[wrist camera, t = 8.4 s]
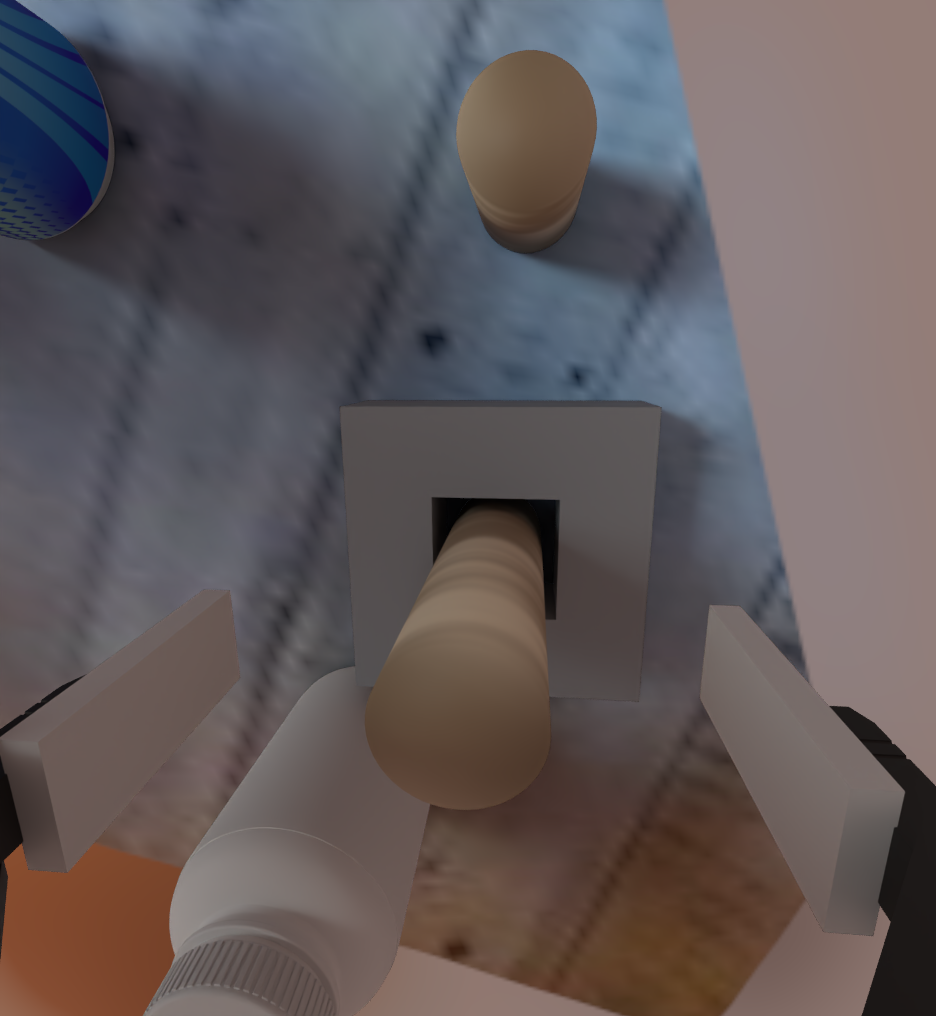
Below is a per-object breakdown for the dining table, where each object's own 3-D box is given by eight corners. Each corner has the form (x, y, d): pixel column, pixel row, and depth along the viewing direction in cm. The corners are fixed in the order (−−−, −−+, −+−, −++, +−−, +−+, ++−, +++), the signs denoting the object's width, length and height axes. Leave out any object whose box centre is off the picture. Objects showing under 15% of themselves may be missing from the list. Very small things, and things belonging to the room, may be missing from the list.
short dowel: (478, 254, 24) (457, 210, 17) (478, 146, 23) (455, 54, 16) (576, 251, 23) (593, 205, 17) (580, 141, 22) (600, 45, 16)
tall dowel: (454, 488, 26) (360, 640, 12) (542, 490, 26) (554, 650, 11) (455, 570, 27) (368, 802, 13) (539, 573, 27) (548, 816, 12)
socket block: (380, 642, 29) (356, 685, 25) (368, 400, 26) (339, 406, 22) (624, 654, 27) (639, 702, 24) (641, 400, 24) (661, 407, 21)
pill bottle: (472, 763, 30) (416, 1138, 15) (344, 811, 31) (184, 1190, 17) (399, 636, 28) (262, 916, 14) (270, 694, 30) (27, 997, 16)
